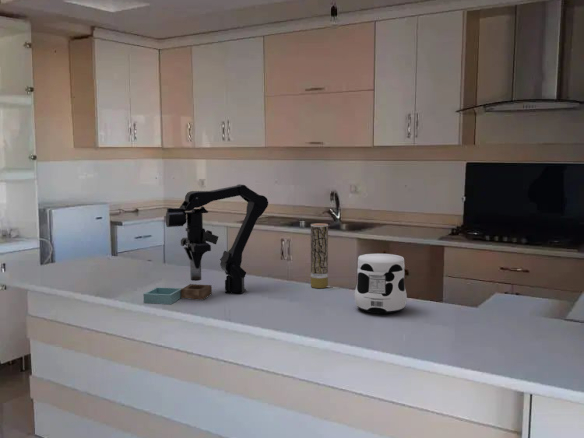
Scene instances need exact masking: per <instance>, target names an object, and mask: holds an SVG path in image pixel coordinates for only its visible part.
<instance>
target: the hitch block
mask: <svg viewBox="0 0 584 438" xmlns="http://www.w3.org/2000/svg"><path fill="white" fill-rule="evenodd" d="M212 290H213V289H212V284H197V283H195V284H194V283H190V284H188V285H186V286H184V287H183V288H182V289H181V298H191V299H190V300H195V299H204V298H205V299H207V298H208V297H210V296H211V295H212V294H213V291H212ZM210 294H211V295H210ZM209 295H210V296H209ZM207 296H208V297H207ZM206 297H207V298H206ZM205 299H204V300H205Z"/></svg>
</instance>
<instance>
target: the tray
mask: <svg viewBox="0 0 584 438" xmlns="http://www.w3.org/2000/svg"><path fill="white" fill-rule="evenodd" d="M181 289H182V288H179V287H178V288H177V287H161V286H156V287H154V288H152V289H150V290H148V291H146V292H144V293H143V304H155V303H158V304H159V305H172V304H174V303H175V301H176V302H178V301H179V300H181V299H180V298H181ZM178 299H179V300H178Z"/></svg>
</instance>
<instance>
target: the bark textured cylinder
mask: <svg viewBox="0 0 584 438" xmlns="http://www.w3.org/2000/svg"><path fill="white" fill-rule="evenodd" d="M328 285H329V224H328V223H322V222H321V223H319V222H318V223H310V287H312V288H315V289H325V288H327V287H328Z"/></svg>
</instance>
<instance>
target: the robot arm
mask: <svg viewBox="0 0 584 438" xmlns="http://www.w3.org/2000/svg"><path fill="white" fill-rule="evenodd" d="M234 197H241V199H243V200H244V201H245V202H247V204H246V214H245V216H244V219H243V221H242V223H241V226H240V228H239V230H238V232H237V234H236V237H235V239H234V242H233V243H232V245H231V248H229V250H228V251H227V250H223V253H222V256H221V258H220V259H219V261H220V263H219V264H220V269H221V270H223V271H224V273H225V275H226V277H225V280H224V290H225V291H224V293H225V294H233V295H234V294H237V295H241V294H243V293H244V292H246V291H247V290H246V289H247V288H245V277H246V274H247V272H246V270H244V269H243V268H242V267H241V265H242V261H243V252H244V250H245V247H246V246H247V243H248V241H249V238H250V237H251V234H252V233H253V230H254V227H255V225H256V223H257V221H258V219H259V218H261V216H262V215H263V214H264V212H265V211H266V210H267V208H268V206H269V200H268V198H267V197H266V196H265V195H263V194H259V193H258V192H255V191H254V190H252V189H250V188H249V187H248V186H247V185H245V184H241V183H240V184H239V183H238V184H237V185H233V186H228V187H223V188H218V189H212V190H190V191H187V192H186V194H185V197H184V201H183V202H182V204H181V205H180V207H177V208H176V207H174V208H172V207H167V208H166V212H165V216H164V218H165V226H166V227H167V228H172V227H173V228H178V227H184V225H186V227H185V231H186V237H182V238H181V239H180V246H182V247H183V249H184V251H185V253H186V256H187V258H188V260H189V261H190V259H193V262H194V265H195V267H196V269H198V268H199V267H200V263H201V264H202V259H203V255H204V254H205V253H207V252H211V251H212V246H211V244H213V245H217V242H218V240H219V236H218V235H215V234H213V231H211V230H208V229H207V230H206V229H205V228H204V221H203V220H204V219H203V218H204V217H203V216H204V215H203V214H207V213H209V211H208V210H207V209H206V207H204V206H205V205H208V204H210V203H212V202H215V201H219V200H224V199H229V198H234Z"/></svg>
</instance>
